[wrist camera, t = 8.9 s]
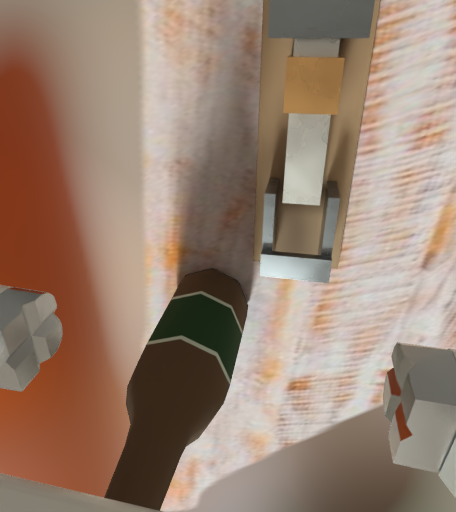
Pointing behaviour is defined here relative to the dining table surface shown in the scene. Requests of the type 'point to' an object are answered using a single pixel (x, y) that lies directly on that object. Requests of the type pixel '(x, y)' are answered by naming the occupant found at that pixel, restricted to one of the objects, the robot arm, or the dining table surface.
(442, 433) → the robot arm
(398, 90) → the dining table surface
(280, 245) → the board
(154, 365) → the beer bottle
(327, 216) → the grey u-shaped bracket
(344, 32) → the socket
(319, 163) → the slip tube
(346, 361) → the dining table surface
